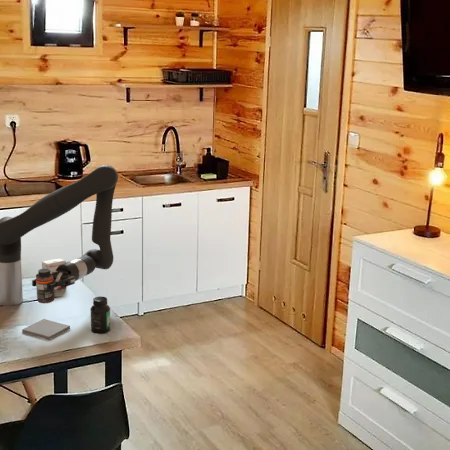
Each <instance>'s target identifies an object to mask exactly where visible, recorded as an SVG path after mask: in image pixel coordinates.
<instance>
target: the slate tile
mask: <svg viewBox="0 0 450 450" xmlns="http://www.w3.org/2000/svg"><path fill="white" fill-rule="evenodd" d="M69 330H71V325H68V324H65V323H62V322H61V323H60V322H57V321H54V320H48V319H47V318H43V319H40V320H39V321H36V322H35V323H32V324H30V325H29V326H27V327H24V328H22V329H21V331H22V333H23V334H26V335H31V336H34V337H36V338H40V339H45V340H48V341H50V340H52V339H54V338H56V337H58V336H60V335H62V334H64V333H65V332H67V331H69Z"/></svg>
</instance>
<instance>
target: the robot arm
mask: <svg viewBox="0 0 450 450" xmlns="http://www.w3.org/2000/svg"><path fill="white" fill-rule="evenodd" d="M118 179H119V174H118V172H117V170H116V169H115V167H113V166H112V165H109V164H103V165H99V166H98V167H96V168H95V169H94V170H93V171H91V172H89V174H87V175H85V176H84V177H82V178H81V179H79V180H77V181H74V182H72V183H70V184H68V185H65V186H62V187H60V188H58V189H56V190H54V191H53V192H52V191H51V192H50V193H48V194H47V195H45V196H43V197H41V198H40V199H39V200H37V201H36V202H35V203H33V204H32V205H31V206H29V208H27V209H26V210H25V211H24V212H22V213H20V214H18V215H16V216H14V217H12V216H3V217H2V218H0V305H1V306H4V307H5V306H6V307H11V306H16V305H17V306H18V305H19V304H21V303H22V302H23V300H24V298H23V273H22V272H23V271H22V237H23V236H26V235H27V234H28V233H30V232H31V231H33V230H34V229H37V228H38V227H40V226H43V225H45V224H47V223H50V222H51V221H53V220H56V219H58V218H59V217H61V216H63V215H65V214H67V213H68V212H70V211H71V210H73V209H74V208H76V207H78V206H79V205H80V204H81V203H83V202H84V201H85V200H86V199H89V198H90V197H93V196H95V195H96V199H95V208H94V214H93V220H92V230H91V242H92V243H93V244H96V245H97V246H99V249H96V248H95V249H89V250H88V251H86V252H85V253H83V255H82V256H80V257H77V258H75V259H72V260H69V261H66V263H64V264H62V265H59V266H58V267H57V269H56V271H53V272H50V274H51V275H52V276H53V278H54V281H52V282H50V283H48V284H47V290H50V289H53V288H55V287H60V286H61V289H65V288H64V287H66V288H67V287H69V286H72V285H75V284H76V281H79V280H81V279H82V278H84V277H85V276H88V275H90V274H92V273H93V272H94V271H95V269H100V270H108V269H110V268H111V267H112V265H113V263H114V254H113V253H114V252H113V247H112V241H111V234H112V215H113V213H112V212H113V201H114V195H115V191H116V190H115V189H116V186H117V183H118V181H119V180H118ZM38 275H39V274H38V273H37V274H36V275H35V279H32V281H31V286H32V287H36V277H37V276H38Z"/></svg>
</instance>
